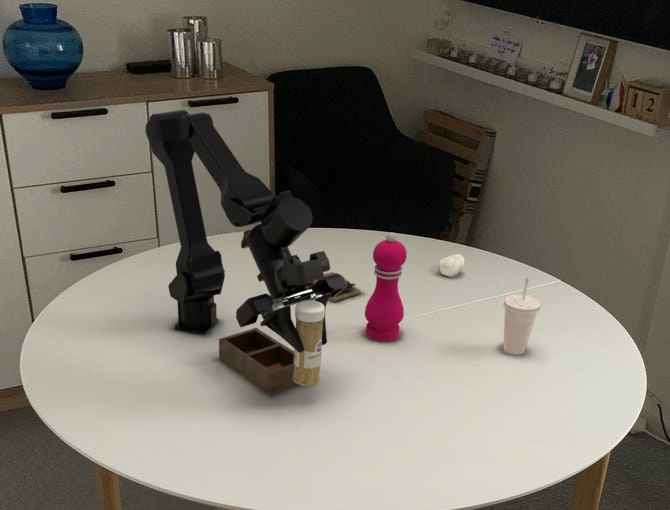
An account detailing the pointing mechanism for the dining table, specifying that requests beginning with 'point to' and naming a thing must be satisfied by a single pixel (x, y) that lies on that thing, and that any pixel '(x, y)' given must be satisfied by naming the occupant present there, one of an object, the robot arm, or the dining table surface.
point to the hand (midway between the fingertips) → (313, 348)
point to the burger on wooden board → (345, 293)
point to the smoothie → (519, 320)
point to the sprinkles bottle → (308, 342)
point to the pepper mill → (386, 291)
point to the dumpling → (451, 265)
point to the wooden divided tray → (259, 360)
